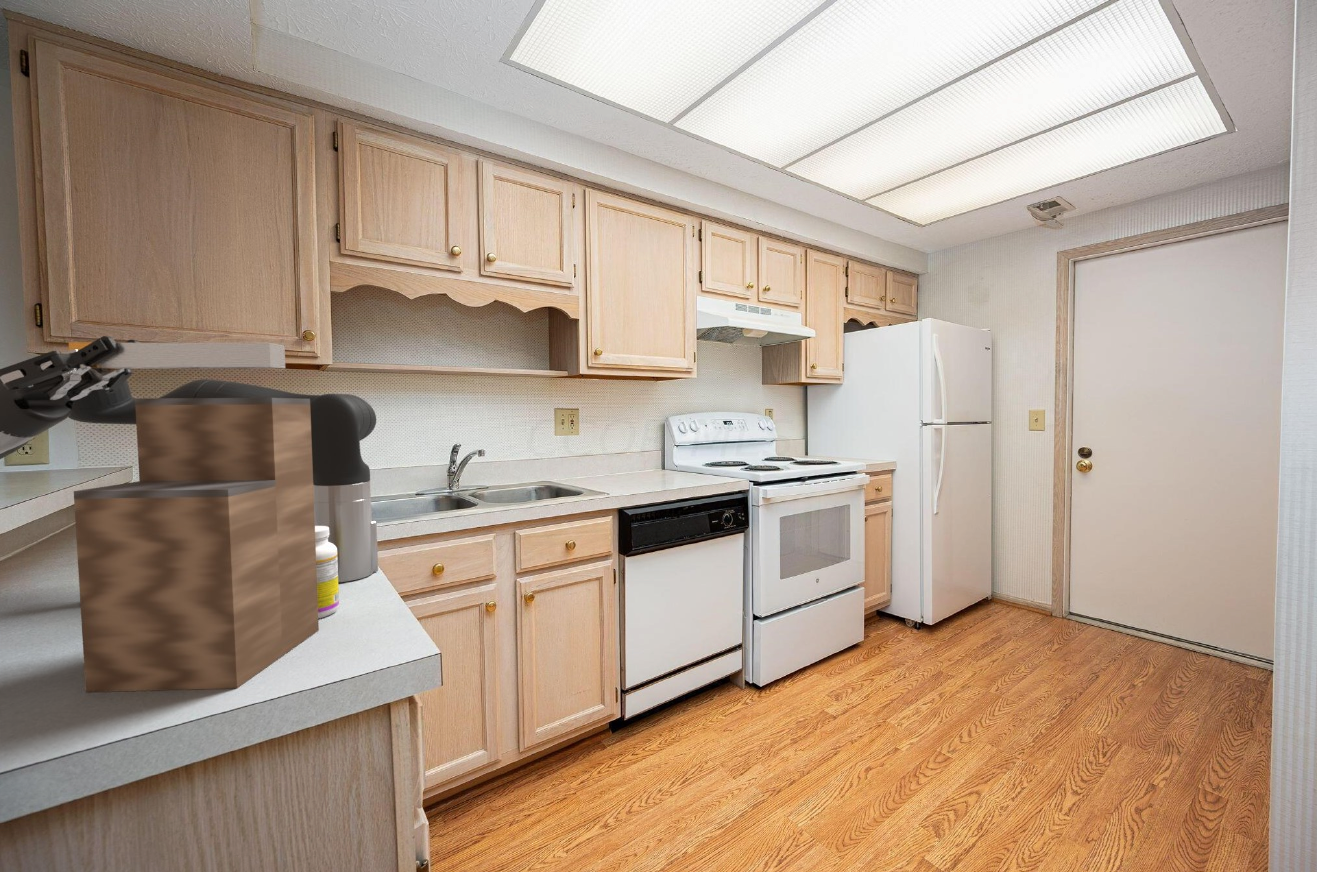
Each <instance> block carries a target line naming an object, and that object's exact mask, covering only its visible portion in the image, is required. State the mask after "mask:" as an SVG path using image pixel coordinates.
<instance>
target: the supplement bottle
mask: <svg viewBox="0 0 1317 872" xmlns="http://www.w3.org/2000/svg"><path fill="white" fill-rule="evenodd" d="M329 535H330V534H329V527H327V526H315V544H316V570H317V596H318V620H319V619H323V618H326V617H328V616H331V615H332V614H334V613H335V612H337V611H338V610H339V607H340V595H339V594H340V593H339V582H338V557H337V548H336V546H335V545H334V544H332V543H330V542H328V537H329Z"/></svg>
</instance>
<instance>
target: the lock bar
mask: <svg viewBox="0 0 1317 872" xmlns="http://www.w3.org/2000/svg"><path fill="white" fill-rule="evenodd" d="M90 343H92V342H89V341H87V342H81V341H80V342H75V341H74V342H72V341H71V342H68V351H70V350H74V349H78V350H80V349H82V348H84V347H85V346H87V345H89V344H90ZM116 344H117V345H118V347H119V352H118V353H116V354H115V355H113V356H111V357H109V358H108V359H106V360H104V361H103V362H101V363H99V364H97V365H95V366H91V365H90V367H91V368H90V369H130V370H132V369H133V370H134V369H136V370H142V369H143V370H144V369H145V370H146V369H147V370H148V369H152V370H153V369H155V370H157V369H158V370H159V369H160V370H161V369H162V370H163V369H166V370H167V369H168V370H169V369H170V370H171V369H172V370H173V369H174V370H175V369H176V370H177V369H180V370H181V369H182V370H183V369H186V370H187V369H188V370H189V369H191V370H195V369H199V370H200V369H201V370H202V369H204V370H205V369H210V370H211V369H215V370H216V369H219V370H221V369H222V370H224V369H226V370H227V369H231V370H232V369H235V370H236V369H238V370H239V369H241V370H243V369H244V370H245V369H247V370H248V369H254V370H255V369H266V370H267V369H268V370H270V369H277V370H278V369H283V370H284V369H286V353H285V352H286V349H285V345H284V344H279V343H273V342H140V343H125V342H116Z"/></svg>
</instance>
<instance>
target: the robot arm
mask: <svg viewBox="0 0 1317 872" xmlns="http://www.w3.org/2000/svg"><path fill="white" fill-rule="evenodd" d="M116 343H117V342H116V341H115V339H114V337H113V336H107V335H103V336H101V337H99V338H97V339H96V340H94V341H93V342H92V343H90V344H89V345H87V346H85V347H84V348H82V349H80V350H78V349H74V350H70V351H69V350H68V351H67V352H66V353H62V352H61V351H60V350H52V351H48V352H46V353H43V354H40V355H37V356H34V357H31V358H28V359H26V360H23V361H22V360H21V361H19V362H16V363H15V364H11V365H9V366H6V367H3V368H0V460H1V459H3V458H6V457H7V456H10V455H11V454H13V453H15V452H17V451H18V450H20V449H21V448H23V447H24V446H26V444H28V443H29V442H30V441H31V440H32V439H34V438H35V437H37V436H39V435H41V434H42V433H44V432H46V431H47V430H50V429H51V428H53V427H54V426H56V425H58V424H60V423H62V422H63V421H65V420H66V419H68V418H69V419H71V420H73V421H76V422H81V423H87V424H88V423H89V424H105V425H106V424H107V425H136V408H135V399H136V397H134V396H133V394H132V393H131V387H130V385H129V382H128V379H129V378H130V377H131V375H133V371H132V369H90V368H91V367H90V365H91V366H95V365H97V364H99V363H101V362H103V361H104V360H106V359H108V358H109V357H111V356H113V355H115V354H116V353H118V352H119V347H118V345H117V344H116ZM124 343H141V342H140V341H139V340H137V339H129V340H127V341H125V342H124ZM158 398H300V399H310V412H311V439H312V465H313V491H314V518H315V526H327V527H329V534H330V535H329V537H328V542H330V543H332V544H334V545H335V546H336V548H337V557H338V583H345V582H351V581H355V580H360V579H364V578H366V577H368V576H370V575H372V574H374V573H375V572H378V571H379V558H378V557H379V556H378V553H379V552H378V530H377V528H378V526H377V521H376V520H373V518H372V497H371V495H372V493H371V469H370V467H369V465H368V464H367V463H365V461H364V459H363V458H362V454H361V444H360V441H363V440H364V439H366V438H367V437H368V436H369V435H371V433H372V432H373V431H374V429H375V427H376V424H377V415H376V412H375V410H374V408H373V407H372V406H371V404H370V403H368V401H366V399H363V398H362V397H359V396H356V395H354V394H347V393H346V394H345V393H324V394H301V393H295V392H290V391H289V392H288V391H286V390H285V391H284V390H280V389H276V388H271V387H265V386H260V385H254V384H248V383H242V382H235V381H227V380H219V379H217V380H216V379H208V378H207V379H204V378H203V379H197V380H193V381H190V382H187V383H185V384H182V385H181V386H178V387H177V388H175V389H173V390H171V391H169V392H168V393H166V394H163V395H161V396H160V397H158Z"/></svg>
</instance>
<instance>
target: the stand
mask: <svg viewBox="0 0 1317 872" xmlns="http://www.w3.org/2000/svg"><path fill="white" fill-rule="evenodd" d="M135 398H136V397H135ZM135 408H136V424H135V425H136V441H137V443H136V444H137V445H136V446H137V458H138V459H137V460H138V477H139V479H138V480H139V481H134V482H133V481H132V482H126V483H120V484H119V483H118V484H114V485H108V486H107V485H106V486H100V487H93V488H87V489H79V490H73V502H74V503H73V505H74V517H75V518H74V519H75V534H76V535H75V536H76V550H77V570H78V571H77V572H78V585H79V588H78V589H79V601H80V602H79V603H80V619H81V621H80V622H81V633H82V634H81V636H82V651H83V654H82V655H83V666H84V667H83V668H84V684H85V685H84V686H85V693H98V692H99V693H100V692H101V693H103V692H105V693H106V692H135V691H136V692H138V691H139V692H142V691H144V692H145V691H177V690H179V691H181V690H218V689H219V690H220V689H222V690H223V689H238V688H240V687H241V686H242V685H244V684H246V682H249V680H251V679H252V678H254V677H255V676H256V675H258V674H259V673H261V672H262V671H263V670H265V669H266V668H268V667H269V666H271V665H272V664H274V663H275V662H277V661H278V660H279V659H280V658H282V657H283V656H285V655H287V654H288V653H289V652H291V651H292V650H294V649H295V648H297V647H298V646H300V644H302V643H304V641H306V640H308V639H309V638H310V637H313V635H314V634H316V633H318V632H319V630H320V629H319V628H320V627H319V624H320V623H319V619H318V596H317V570H316V544H315V518H314V491H313V465H312V439H311V412H310V399H300V398H159V397H156V398H155V397H153V398H152V397H151V398H144V397H143V398H136V399H135Z"/></svg>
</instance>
